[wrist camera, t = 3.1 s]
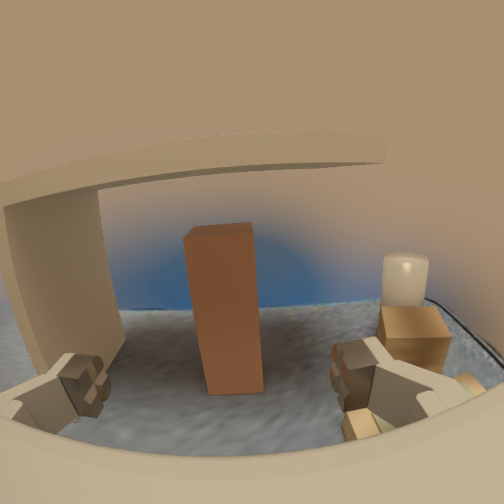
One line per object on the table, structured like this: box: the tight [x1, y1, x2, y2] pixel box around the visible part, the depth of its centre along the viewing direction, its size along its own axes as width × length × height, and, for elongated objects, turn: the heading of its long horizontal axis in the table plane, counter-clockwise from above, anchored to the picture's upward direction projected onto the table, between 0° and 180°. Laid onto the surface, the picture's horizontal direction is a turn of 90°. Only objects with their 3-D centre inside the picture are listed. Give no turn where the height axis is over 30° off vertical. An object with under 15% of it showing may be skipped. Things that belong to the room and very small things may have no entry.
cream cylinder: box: [376, 252, 429, 338], centre depth 25 cm, size 4×4×9 cm
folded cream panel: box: [0, 131, 387, 422], centre depth 21 cm, size 14×24×18 cm, turn 92°
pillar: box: [183, 222, 264, 395], centre depth 22 cm, size 4×4×13 cm
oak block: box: [377, 306, 452, 375], centre depth 20 cm, size 5×5×6 cm
